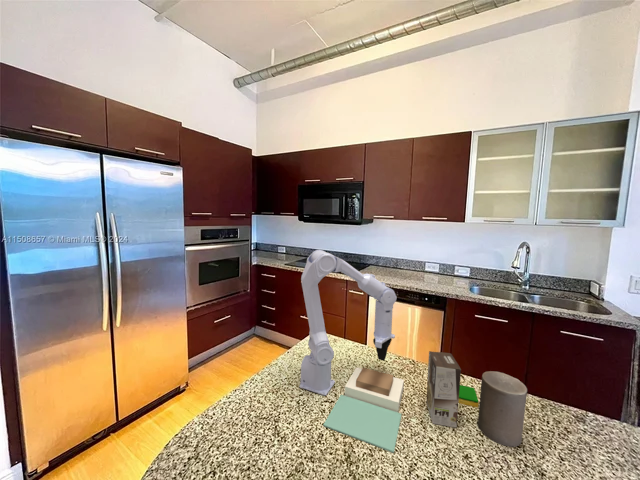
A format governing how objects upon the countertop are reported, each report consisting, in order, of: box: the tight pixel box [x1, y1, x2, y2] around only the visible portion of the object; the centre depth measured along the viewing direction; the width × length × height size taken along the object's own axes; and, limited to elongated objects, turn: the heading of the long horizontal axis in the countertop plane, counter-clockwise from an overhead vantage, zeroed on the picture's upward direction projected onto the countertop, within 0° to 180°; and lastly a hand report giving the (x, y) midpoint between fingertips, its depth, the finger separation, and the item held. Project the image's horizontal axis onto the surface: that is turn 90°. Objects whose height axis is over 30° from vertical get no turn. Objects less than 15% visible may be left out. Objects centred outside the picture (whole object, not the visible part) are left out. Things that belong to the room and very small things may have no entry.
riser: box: [344, 367, 405, 413], centre depth 83 cm, size 16×12×3 cm
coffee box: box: [426, 351, 462, 428], centre depth 74 cm, size 9×6×16 cm
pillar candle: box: [477, 370, 528, 448], centre depth 68 cm, size 10×10×15 cm
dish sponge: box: [458, 384, 480, 408], centre depth 83 cm, size 7×14×2 cm, turn 69°
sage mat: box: [322, 394, 403, 454], centre depth 71 cm, size 18×14×1 cm
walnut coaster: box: [356, 367, 394, 396], centre depth 83 cm, size 10×8×2 cm
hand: (381, 359), depth 91 cm, fingers closed
